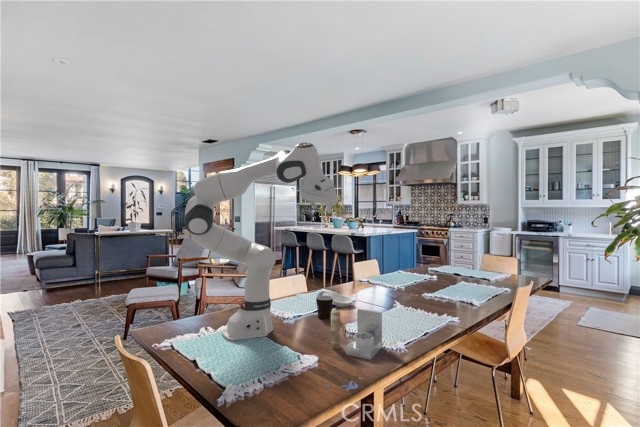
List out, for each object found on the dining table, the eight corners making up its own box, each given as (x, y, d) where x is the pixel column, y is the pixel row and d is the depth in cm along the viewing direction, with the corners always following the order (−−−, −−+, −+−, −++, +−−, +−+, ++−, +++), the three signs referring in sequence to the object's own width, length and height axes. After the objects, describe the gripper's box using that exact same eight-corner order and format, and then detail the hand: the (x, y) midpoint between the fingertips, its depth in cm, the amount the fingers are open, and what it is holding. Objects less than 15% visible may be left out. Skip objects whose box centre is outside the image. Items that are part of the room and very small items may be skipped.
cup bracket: (370, 360, 124) (370, 321, 124) (345, 354, 129) (345, 317, 129) (382, 347, 135) (382, 312, 135) (358, 342, 140) (358, 308, 140)
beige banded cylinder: (334, 349, 133) (334, 314, 133) (329, 346, 136) (329, 311, 136) (341, 347, 135) (341, 312, 135) (336, 344, 138) (336, 310, 138)
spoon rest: (357, 306, 192) (357, 293, 192) (344, 310, 183) (344, 297, 183) (324, 298, 207) (324, 286, 207) (311, 302, 198) (311, 290, 198)
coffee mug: (331, 320, 167) (331, 300, 166) (314, 319, 168) (314, 299, 168) (335, 313, 178) (335, 294, 178) (319, 312, 180) (319, 293, 179)
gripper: (293, 180, 146) (301, 208, 152) (324, 188, 131) (332, 219, 137) (304, 174, 149) (312, 202, 155) (336, 181, 134) (343, 211, 140)
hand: (322, 210), depth 146 cm, fingers open, 8 cm apart
